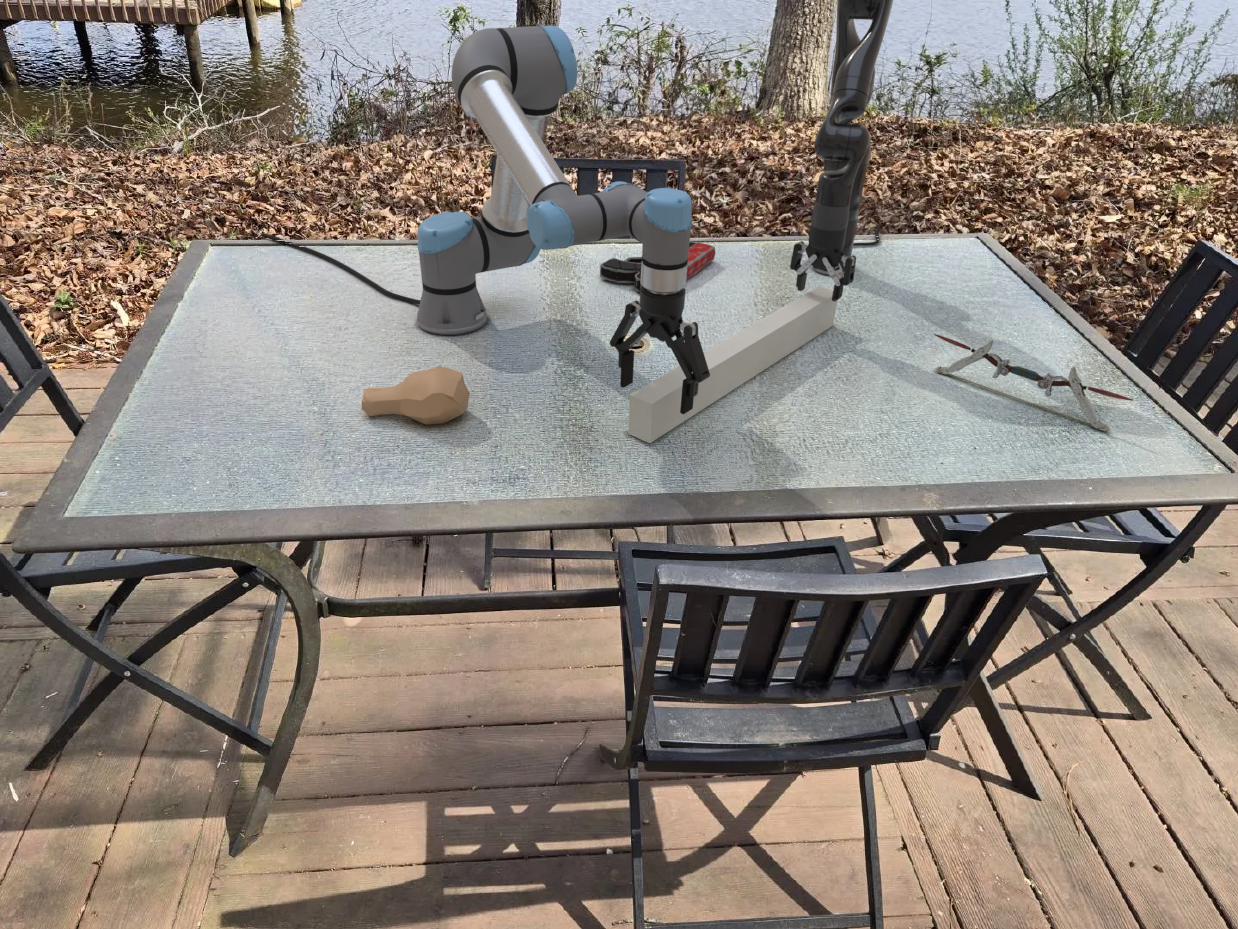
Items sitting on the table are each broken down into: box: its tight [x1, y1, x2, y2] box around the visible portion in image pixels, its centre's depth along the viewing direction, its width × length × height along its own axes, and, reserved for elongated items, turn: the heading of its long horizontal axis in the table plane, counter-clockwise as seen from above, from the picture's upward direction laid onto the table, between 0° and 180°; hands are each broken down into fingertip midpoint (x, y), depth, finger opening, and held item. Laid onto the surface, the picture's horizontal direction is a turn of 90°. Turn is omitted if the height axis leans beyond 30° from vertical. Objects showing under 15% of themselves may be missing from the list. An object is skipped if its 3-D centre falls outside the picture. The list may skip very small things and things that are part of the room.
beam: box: [627, 286, 838, 444], centre depth 177 cm, size 68×5×8 cm, turn 140°
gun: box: [599, 241, 716, 293], centre depth 224 cm, size 4×31×19 cm
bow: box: [934, 333, 1134, 432], centre depth 170 cm, size 39×2×10 cm, turn 47°
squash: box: [361, 365, 471, 426], centre depth 160 cm, size 11×20×9 cm, turn 90°
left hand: (655, 397), depth 157 cm, fingers open, 13 cm apart
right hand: (817, 294), depth 193 cm, fingers open, 8 cm apart
